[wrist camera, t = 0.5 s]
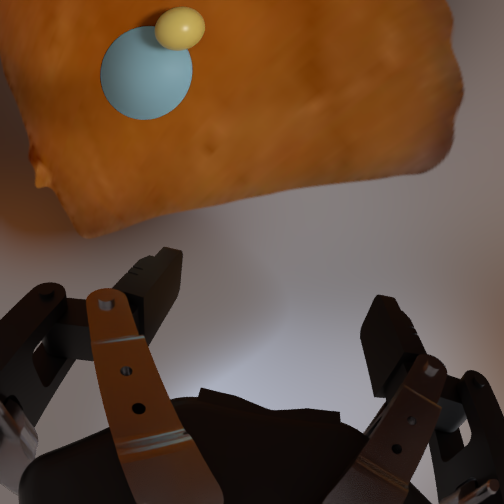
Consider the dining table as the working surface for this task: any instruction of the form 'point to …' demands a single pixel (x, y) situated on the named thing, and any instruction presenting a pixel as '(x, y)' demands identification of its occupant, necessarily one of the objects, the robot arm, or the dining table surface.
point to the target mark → (144, 75)
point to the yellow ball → (179, 28)
